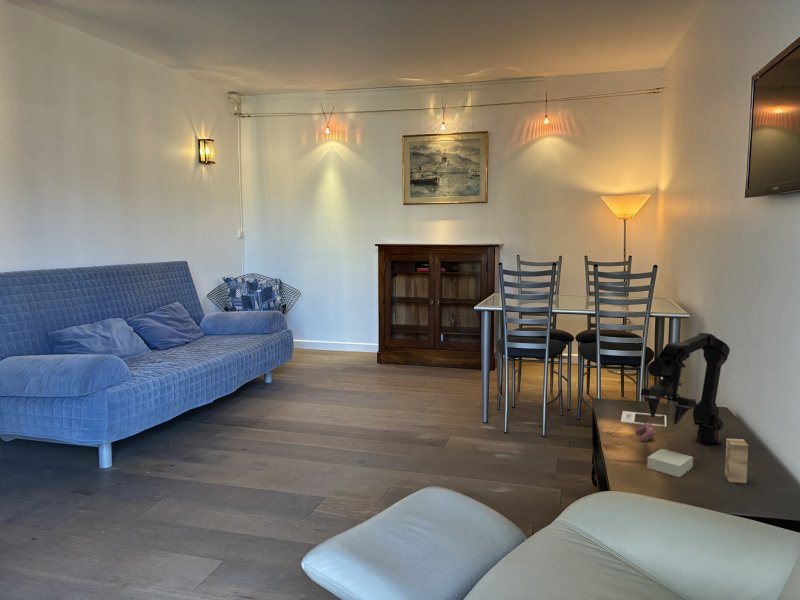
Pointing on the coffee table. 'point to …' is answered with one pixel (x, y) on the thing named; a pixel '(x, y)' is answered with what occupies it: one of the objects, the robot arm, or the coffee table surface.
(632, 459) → the coffee table surface
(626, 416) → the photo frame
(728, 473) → the birch block
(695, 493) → the coffee table surface
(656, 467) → the white flat block
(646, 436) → the pink lumpy piece
